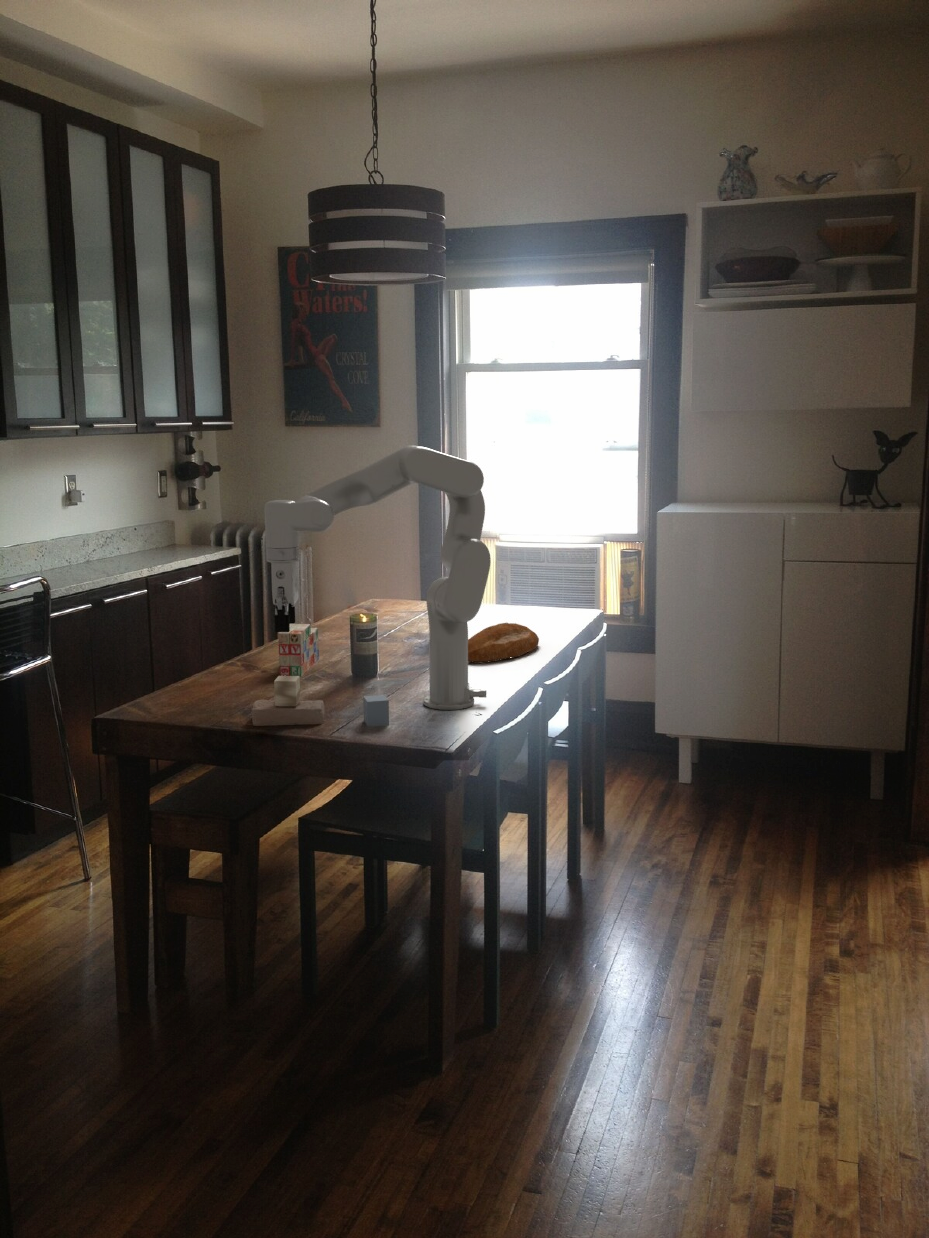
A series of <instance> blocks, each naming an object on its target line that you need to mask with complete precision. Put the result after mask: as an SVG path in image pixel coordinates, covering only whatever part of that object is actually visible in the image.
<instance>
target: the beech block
mask: <svg viewBox="0 0 929 1238" xmlns="http://www.w3.org/2000/svg"><path fill="white" fill-rule="evenodd" d="M273 684H274V685H273V687H274V688H273V691H274V701H275V706H297V705H298V703H299V702H300V701H301V676H280V675H278V676H277V677H276V678H275V680H274V681H273Z"/></svg>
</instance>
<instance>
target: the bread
mask: <svg viewBox="0 0 929 1238" xmlns="http://www.w3.org/2000/svg"><path fill="white" fill-rule="evenodd" d="M539 641H540V638H539V636H538V634H536V632H534V631H533V630H532V629H530V628H529V627H527V626H525V625H522V624H519V623H516V622H514V623H513V622H512V623H510V622H501V623H498V624H495V625H491V626H488V627H485V628H483V629H482V630H480V631H479V632H477V633H475V634H474V635H472V636H471V637H470V638H468V663H474V662H483V663H489V662H488V661H492V662H496V661H495V660H498V661H501V660H500V659H504V660H506V659H505V658H509V659H511V658H510V657H514V658H516V656H518V657H520V656H519V655H521V656H523V655H525V654H527V652H528V653H530V652H531V651H533V650H535V649H536V648H537V647H538V646H539ZM522 654H523V655H522Z"/></svg>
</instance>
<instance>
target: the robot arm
mask: <svg viewBox="0 0 929 1238" xmlns="http://www.w3.org/2000/svg"><path fill="white" fill-rule="evenodd" d="M484 480H485V479H484V474H483V471H482V469H481V468H480V467H479V465H477V464H476V463H475V462H472V461H469V460H466V459H462V458H459V457H456V456H453V455H449V454H446V453H443V452H440V451H437V450H434V449H432V448H429V447H424V446H418V445H408V446H405V447H402V448H399V449H397V450H396V451H394V452H392V453H389V454H388V455H386V456H384V457H382V458H380V459H379V460H378V459H377V461H375V462H373V463H370V464H369V465H367V466H365V467H363V468H361V469H359V470H357V471H354V472H351V473H350V474H348V475H347V474H346V476H343V477H341V478H338V479H336V480H334V481H331V482H329V483H327V484H325V485H323V486H321V487H319V488H317V489H316V490H314V491H311V492H309V493H307V494H306V495H304V496H302V497H300V498H299V500H297V501H295V500H292V499H291V500H289V499H275V500H269V501H267V502H266V503H265V504H264V526H265V527H264V530H265V533H264V534H265V552H266V553H265V554H266V557H265V558H266V559H265V560H266V562H267V563H270V564H271V570H270V571H271V592H272V593H271V595H272V604H273V605H275V609H274V610H275V611H274V628H275V632H276V633H279V632H289V631H290V624H296V608H295V607H296V606H295V604H296V603H297V602H298V600H299V598H300V593H299V582H298V581H299V579H298V577H299V576H298V567H297V562H299V561H300V560H301V559H300V555H301V554H300V533H299V532H307V533H309V532H310V533H322V532H325V531H327V530H328V529H330V527H331V526H332V525H333V523H334V520H335V516H336V515H339V514H340V513H342V512H345V511H347V510H350V509H355V508H359V507H365V506H370V505H373V504H376V503H377V504H378V503H379V502H381V501H383V500H385V499H386V498H388V497H389V496H392V495H393V494H395V493H398V492H399V491H401V490H403V489H405V488H408V487H409V486H411V485H413V484H417V485H422V486H424V487H427V488H430V489H433V490H437V491H440V492H442V493H443V492H444V493H445V495H446V497H447V500H448V503H449V504H448V505H449V514H448V521H447V526H446V529H445V534H444V537H443V542H442V545H441V548H440V549H441V550H440V561H441V564H442V565H443V567H444V568H445V569H446V570H448V571H449V574H448V576H442V577H439V578H437V579H435V580H433V581H432V583H431V584H430V585H429V587H428V589H427V593H426V609H427V617H428V631H429V632H428V635H429V641H428V646H429V647H428V648H429V649H428V654H429V655H428V656H429V661H428V662H429V663H428V664H429V666H428V667H429V672H428V673H429V694H428V695H427V696H425V697H424V698H423V699H422V700H423V702H422V703H423V705H424V706H425V707H428V708H429V709H432V710H433V709H434V710H442V711H444V710H445V711H455V710H463V708H464V709H467V708H470V707H472V706H474V704H475V698H487V689H482V688H481V687H478V688H477V687H476V688H473V687H470V683H469V662H468V639H469V626H468V622H470V621H471V620H473V619H474V618H475V617H476V616H477V614H478V613H479V611H480V609H481V606H482V602H483V600H484V599H483V598H484V594H485V591H486V587H487V584H488V583H487V582H488V578H489V576H490V575H489V574H490V569H491V554H490V550H489V548H488V547H487V545H486V544H485V543H484V542H483V541H481V536H482V533H483V527H484V521H485V516H486V504H485V503H486V502H485V499H484V496H483V493H482V488H483V486H484V482H485V481H484Z"/></svg>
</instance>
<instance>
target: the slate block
mask: <svg viewBox="0 0 929 1238" xmlns="http://www.w3.org/2000/svg"><path fill="white" fill-rule="evenodd" d="M362 700H363V704H362V705H363V722H364V723H365V725H366V726H367V728H370V727H381V726H389V725H390V703H389V702H390V701H389V698H387V696H386V695H385V694H377V695H363V698H362Z"/></svg>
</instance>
